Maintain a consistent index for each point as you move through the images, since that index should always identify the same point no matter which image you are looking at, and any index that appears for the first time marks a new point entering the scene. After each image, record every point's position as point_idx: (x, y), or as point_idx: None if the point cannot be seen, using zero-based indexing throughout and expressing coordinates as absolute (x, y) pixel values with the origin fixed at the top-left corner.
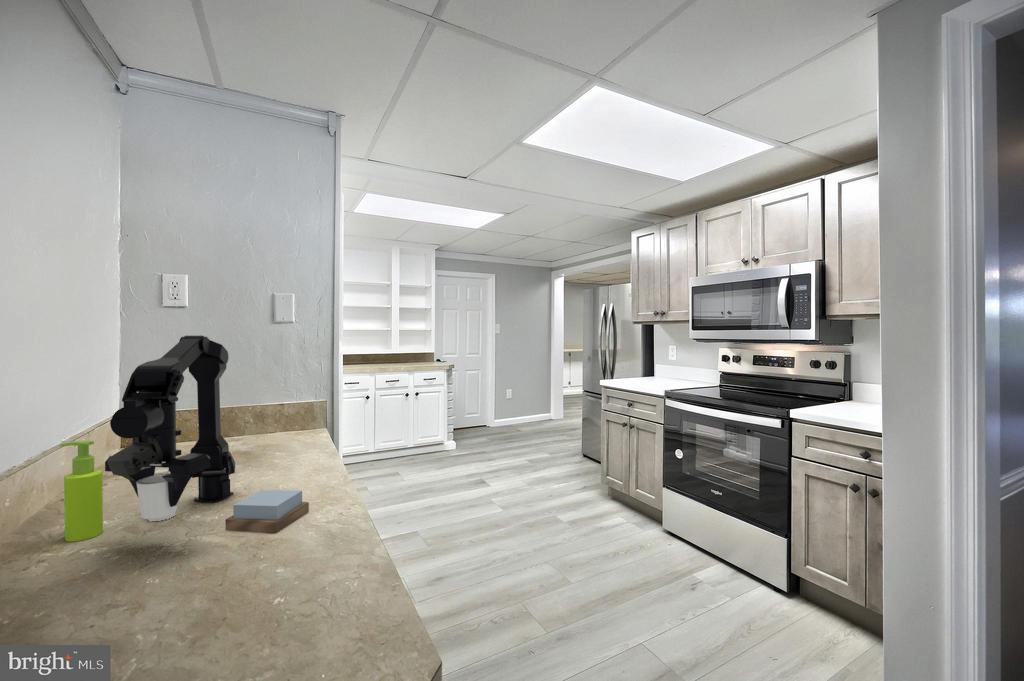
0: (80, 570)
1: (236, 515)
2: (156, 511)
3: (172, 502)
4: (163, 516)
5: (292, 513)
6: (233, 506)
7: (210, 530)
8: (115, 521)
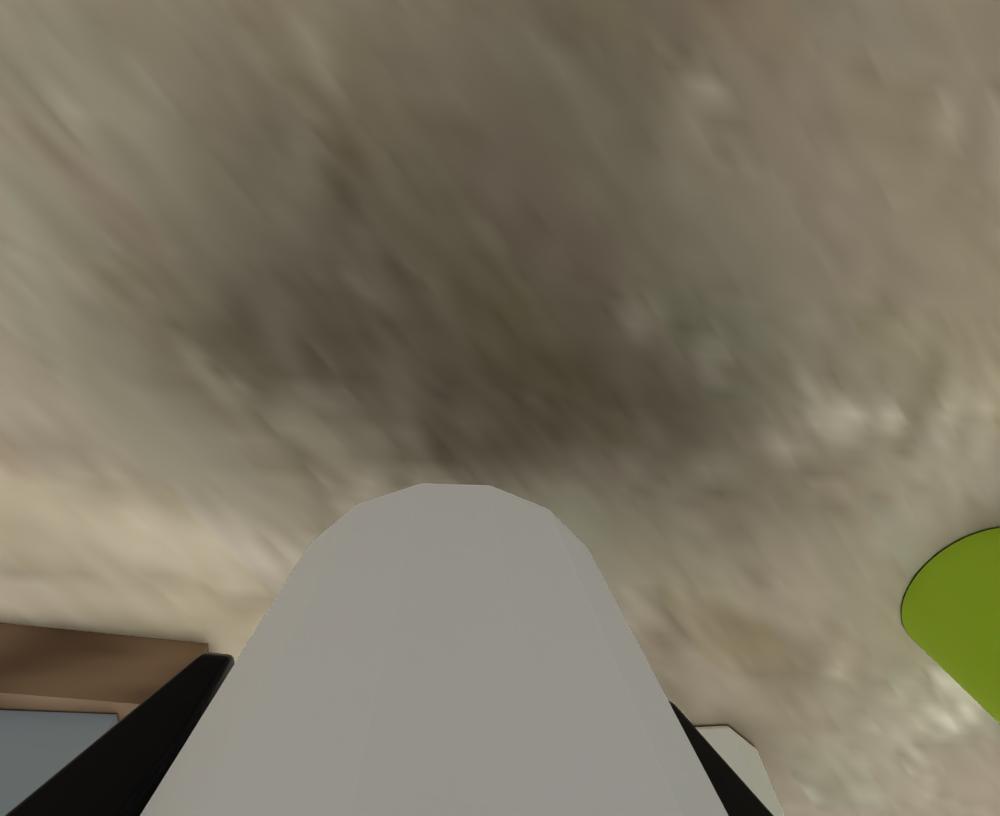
0: (755, 136)
1: (75, 736)
2: (342, 545)
3: (147, 704)
4: None
5: None
6: None
7: None
8: (901, 725)
